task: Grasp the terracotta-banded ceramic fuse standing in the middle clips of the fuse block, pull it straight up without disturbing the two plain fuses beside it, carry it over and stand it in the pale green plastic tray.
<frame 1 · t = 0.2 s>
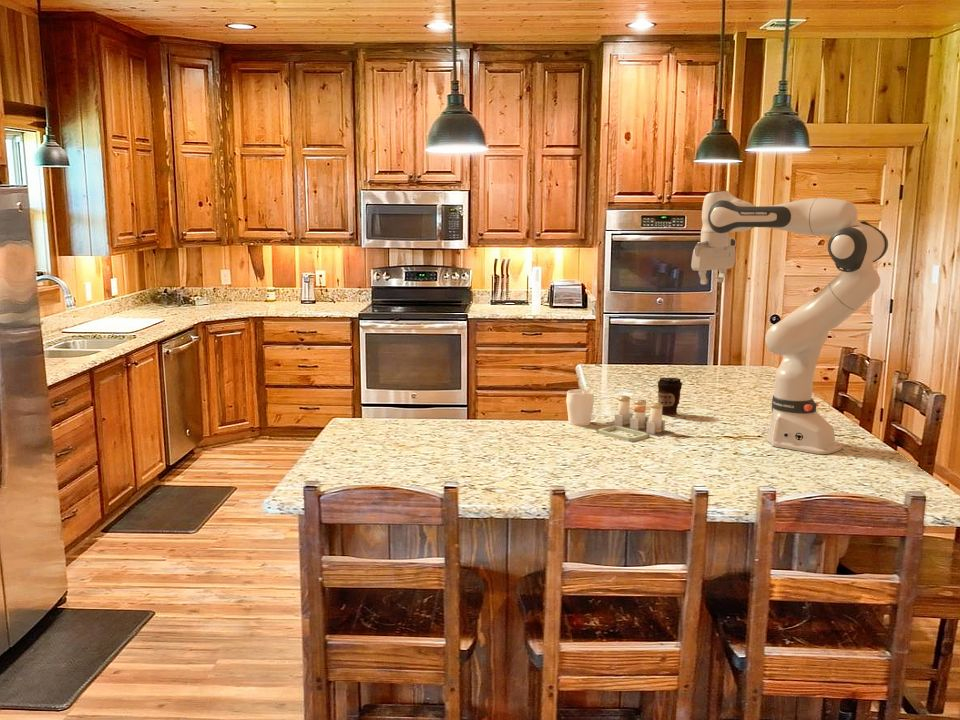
hand: (712, 283, 284), 48 cm above the table, fingers open, 8 cm apart
fuse marked: (639, 427, 280), point 1 cm above the table, touching fuse block
fuse 2: (655, 431, 275), point 1 cm above the table, touching fuse block
tray: (622, 439, 271), on the table
coffee cup: (668, 415, 304), on the table
fuse block: (639, 432, 280), on the table
cup: (579, 427, 286), on the table
fuse 1: (623, 423, 285), point 1 cm above the table, touching fuse block
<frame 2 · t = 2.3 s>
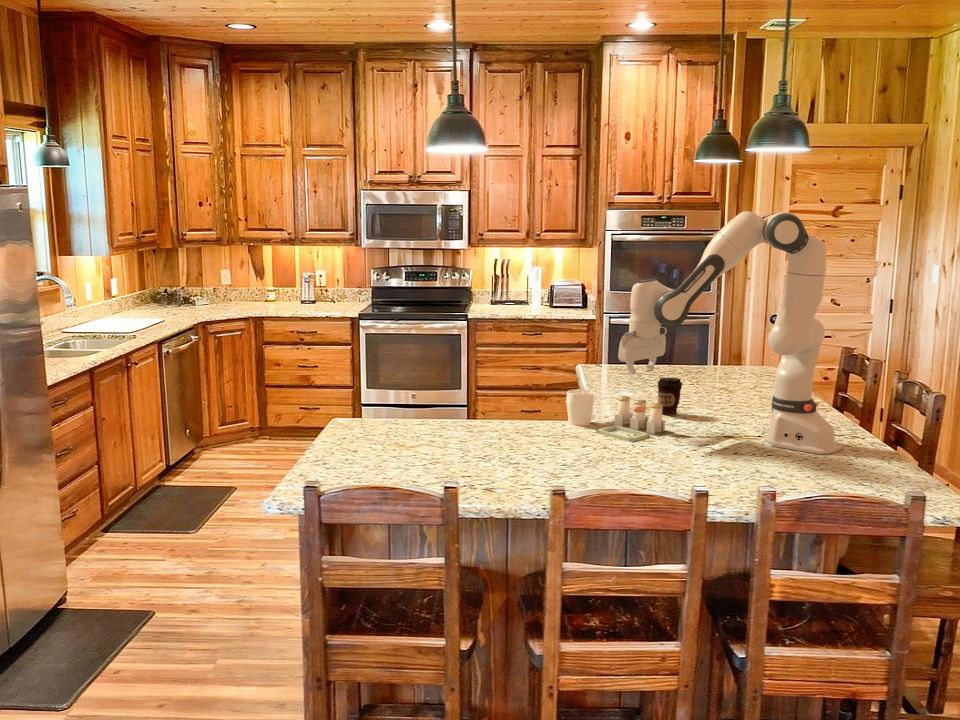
hand: (641, 372, 277), 20 cm above the table, fingers open, 8 cm apart
nothing on the table moved.
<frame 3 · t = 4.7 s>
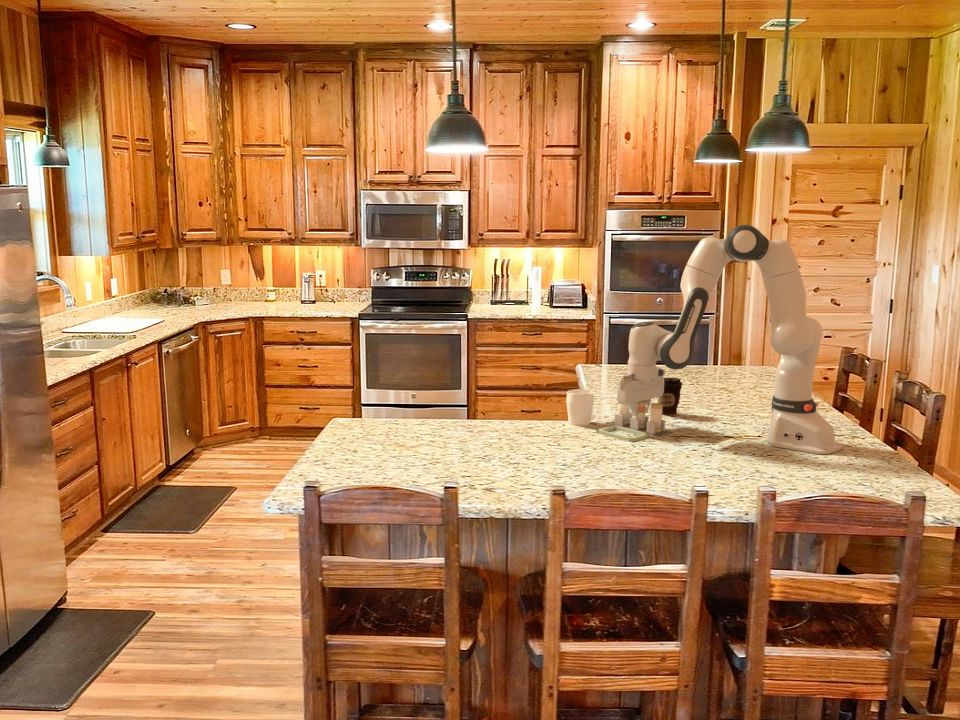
hand: (639, 414, 279), 6 cm above the table, fingers closed on fuse marked, 4 cm apart
fuse marked: (639, 427, 280), point 2 cm above the table, touching fuse block, gripper
everything else where it was.
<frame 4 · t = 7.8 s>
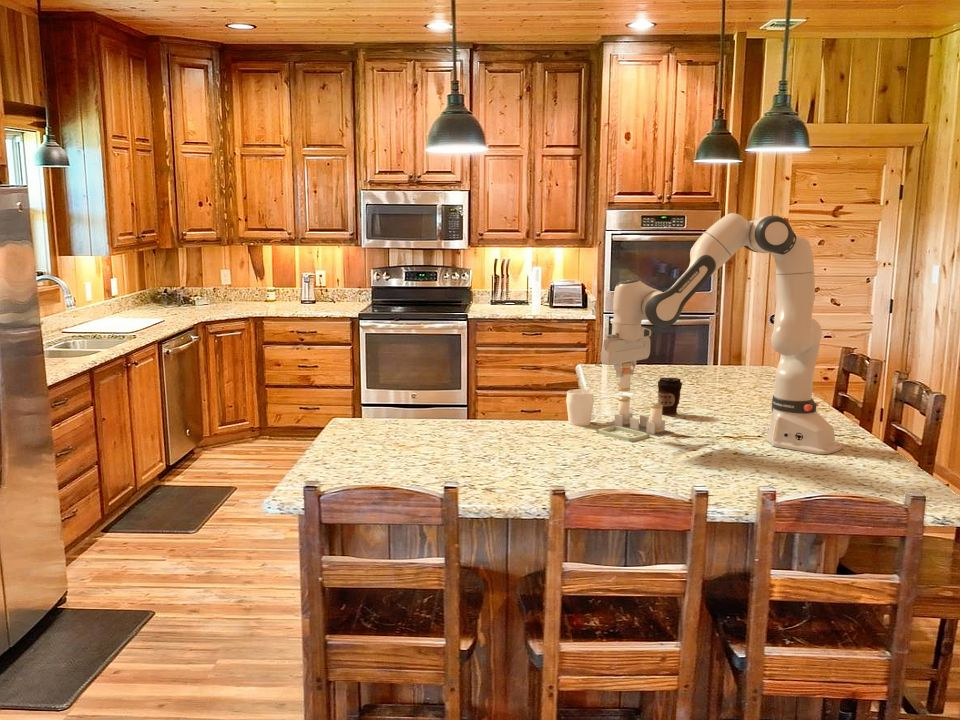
hand: (624, 376, 268), 20 cm above the table, fingers closed on fuse marked, 4 cm apart
fuse marked: (624, 390, 269), point 16 cm above the table, touching gripper
everything else where it was.
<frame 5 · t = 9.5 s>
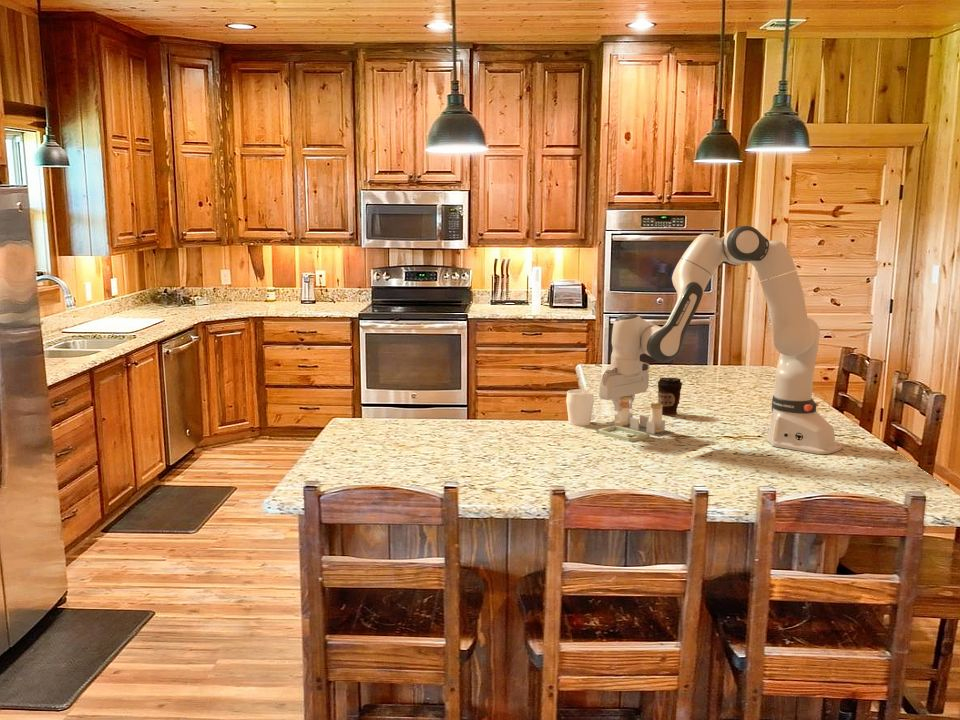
hand: (623, 409, 270), 10 cm above the table, fingers closed on fuse marked, 4 cm apart
fuse marked: (622, 423, 271), point 5 cm above the table, touching gripper
everything else where it was.
when the fingers open (7 cm above the table, at t = 10.9 s): fuse marked drops 1 cm, resting on tray.
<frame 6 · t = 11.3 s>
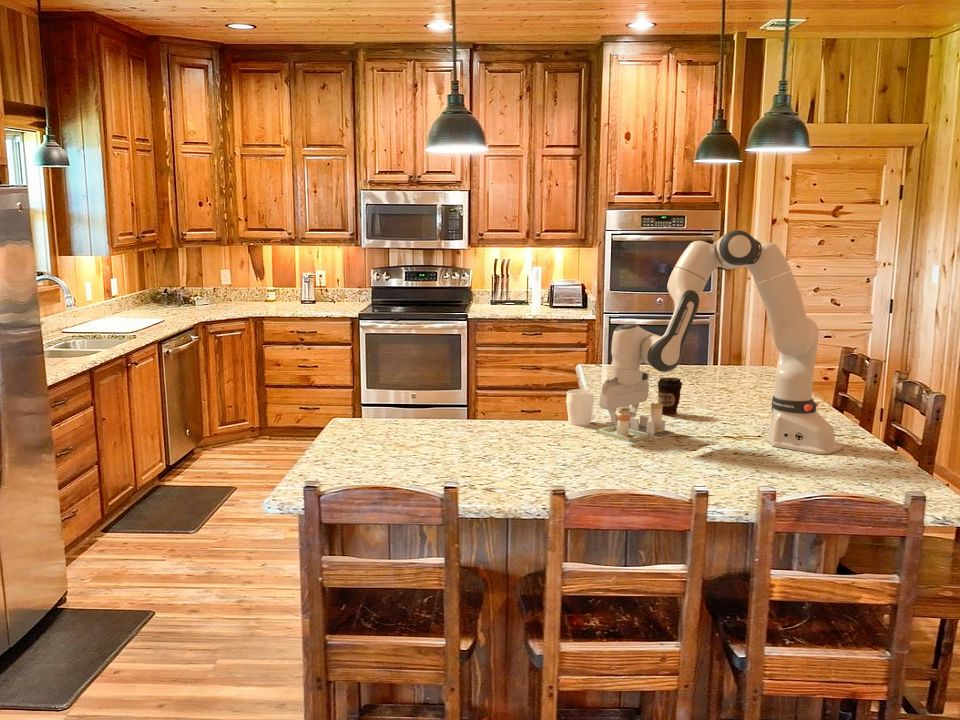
hand: (623, 419, 270), 7 cm above the table, fingers open, 8 cm apart
fuse marked: (622, 436, 271), point 1 cm above the table, touching tray
everything else where it was.
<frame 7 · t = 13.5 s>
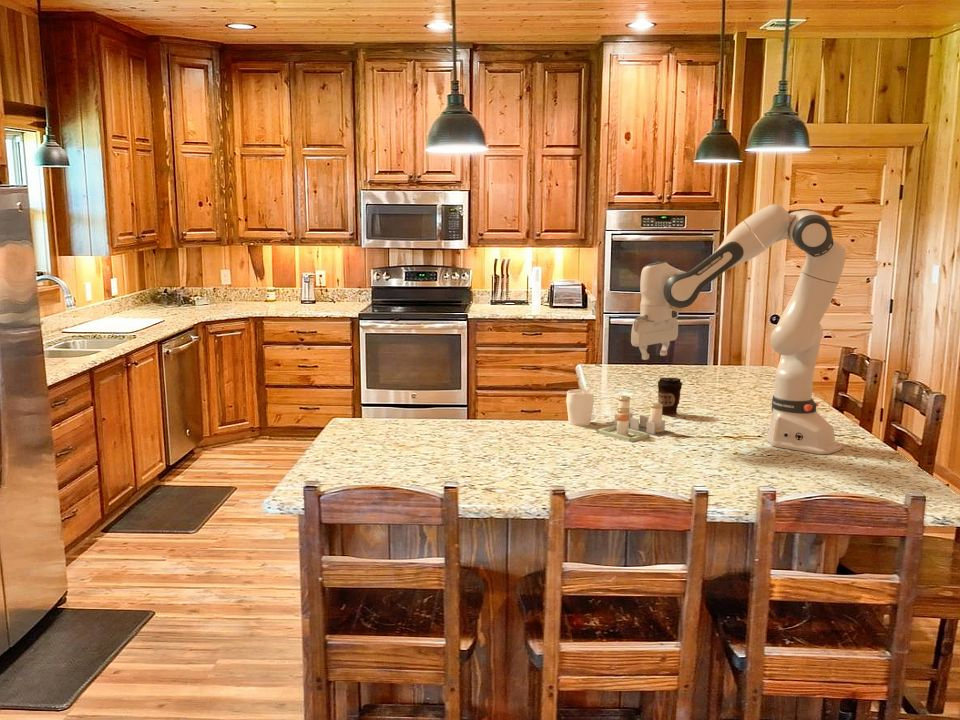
hand: (654, 357, 272), 25 cm above the table, fingers open, 8 cm apart
nothing on the table moved.
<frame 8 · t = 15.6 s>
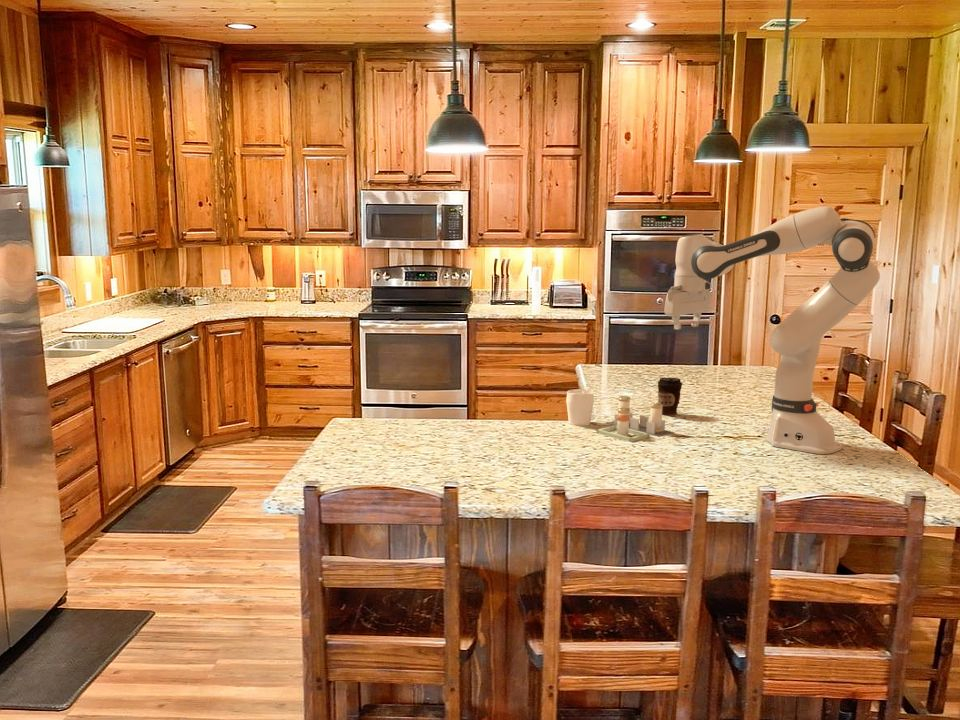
hand: (686, 327, 276), 34 cm above the table, fingers open, 8 cm apart
nothing on the table moved.
at the end: fuse marked inside the target area on the tray (0.0 cm from its centre), point 0.8 cm above the tray's base; fuse 2 moved 0.1 cm from its start; fuse 1 moved 0.1 cm from its start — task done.
